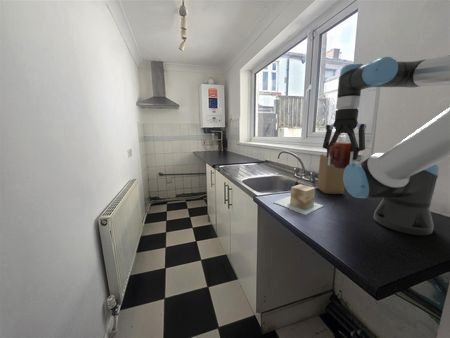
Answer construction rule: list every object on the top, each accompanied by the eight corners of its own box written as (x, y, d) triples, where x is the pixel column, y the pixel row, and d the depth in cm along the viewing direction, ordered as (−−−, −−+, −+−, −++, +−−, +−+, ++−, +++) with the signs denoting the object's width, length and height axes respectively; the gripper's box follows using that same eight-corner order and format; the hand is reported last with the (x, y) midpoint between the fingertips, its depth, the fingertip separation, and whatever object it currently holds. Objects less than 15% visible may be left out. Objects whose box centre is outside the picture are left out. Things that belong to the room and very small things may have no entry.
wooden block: (334, 188, 105) (339, 153, 101) (344, 194, 95) (349, 156, 91) (316, 188, 106) (319, 153, 102) (323, 194, 96) (327, 155, 92)
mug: (339, 164, 83) (341, 142, 81) (359, 168, 75) (362, 143, 73) (319, 167, 79) (321, 142, 77) (338, 171, 71) (341, 144, 69)
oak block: (313, 205, 81) (315, 187, 79) (304, 209, 77) (306, 191, 75) (299, 200, 86) (300, 184, 85) (290, 204, 82) (291, 187, 81)
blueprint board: (323, 206, 81) (323, 205, 81) (305, 215, 73) (305, 214, 73) (291, 196, 93) (291, 195, 93) (273, 202, 85) (273, 201, 85)
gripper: (382, 106, 66) (373, 169, 71) (325, 111, 82) (320, 162, 87) (375, 105, 62) (366, 171, 67) (316, 110, 78) (311, 164, 83)
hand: (340, 166), depth 77 cm, fingers closed on mug, 7 cm apart
